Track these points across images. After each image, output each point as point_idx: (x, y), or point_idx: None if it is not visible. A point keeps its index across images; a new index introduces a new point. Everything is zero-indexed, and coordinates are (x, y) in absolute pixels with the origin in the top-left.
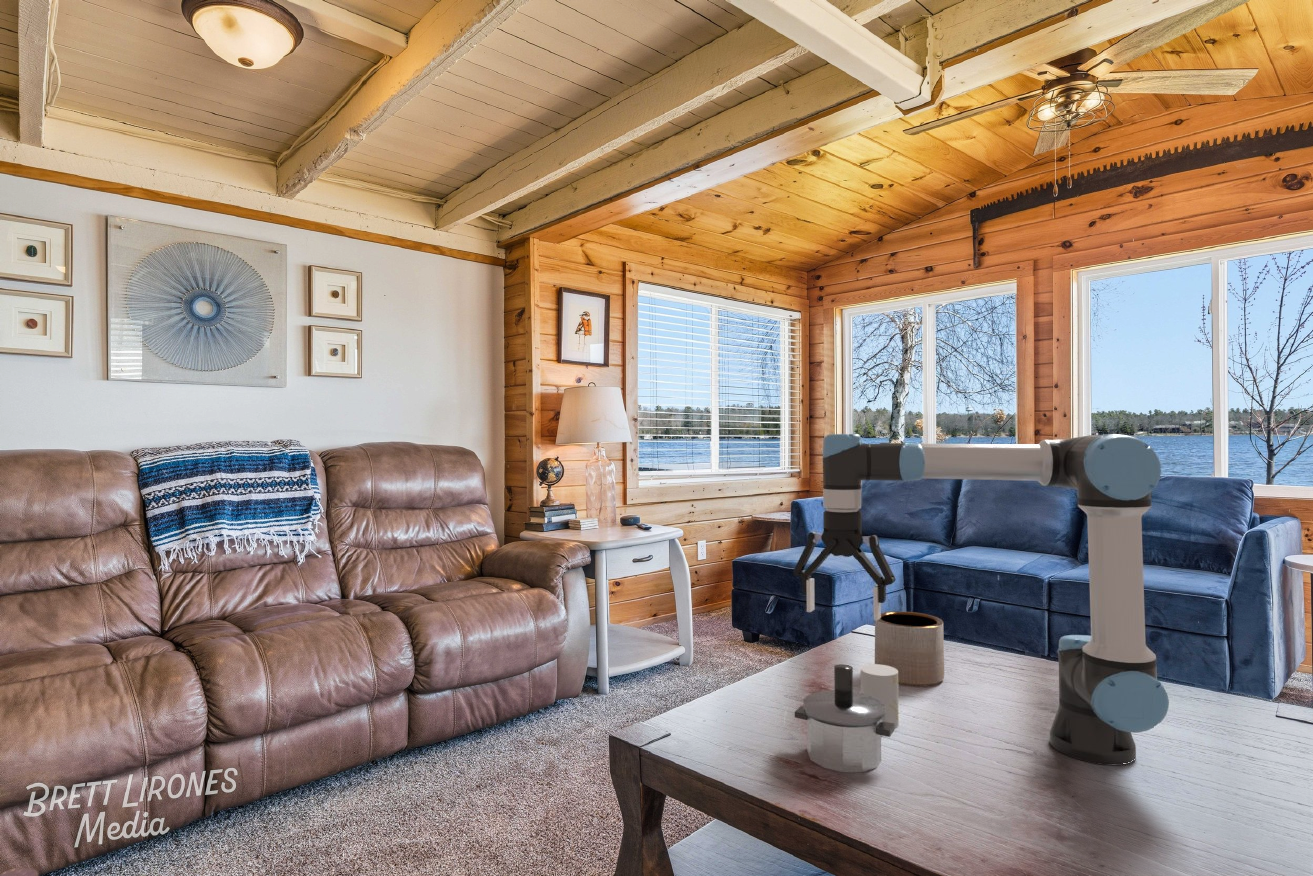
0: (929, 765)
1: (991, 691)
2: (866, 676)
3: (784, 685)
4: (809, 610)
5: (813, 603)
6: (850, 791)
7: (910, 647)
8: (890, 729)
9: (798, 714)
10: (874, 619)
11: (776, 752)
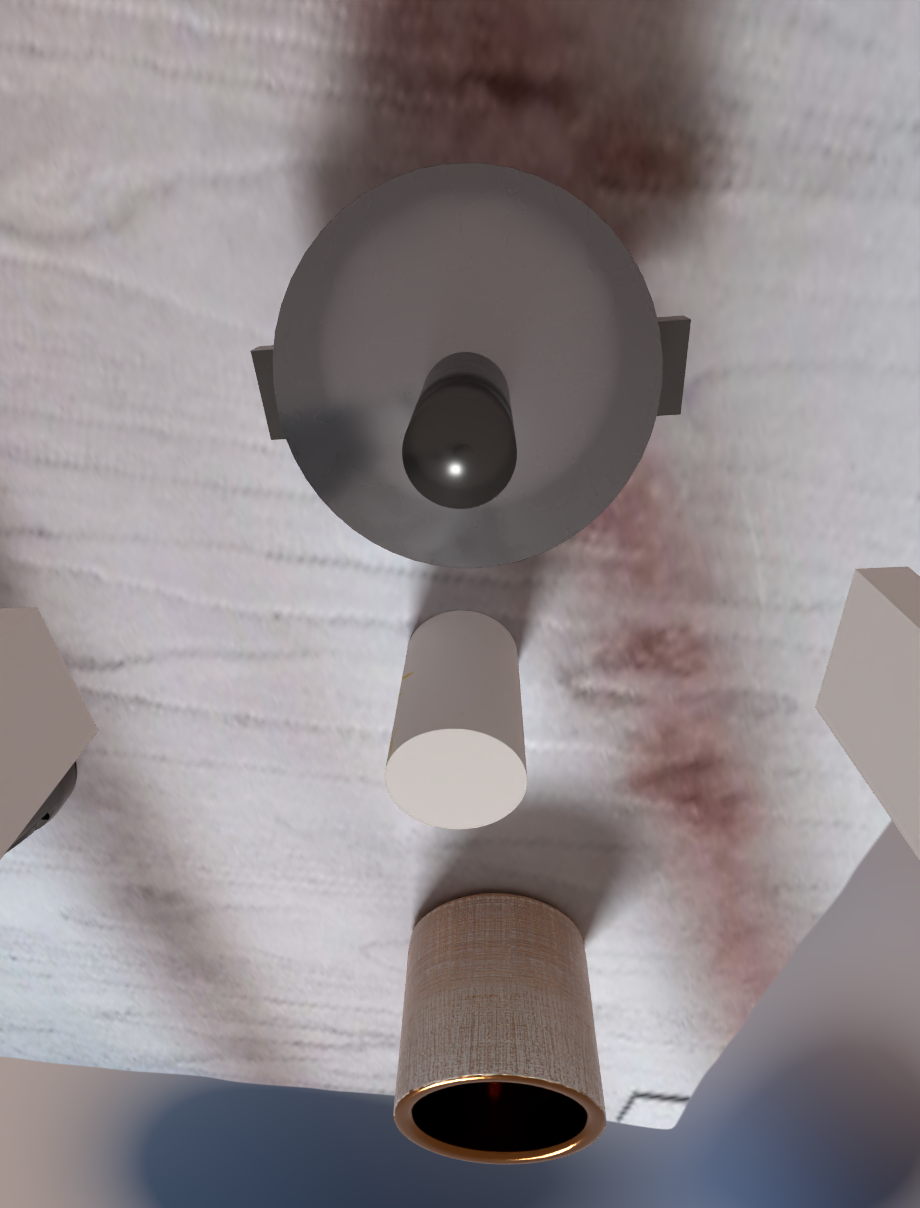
0: (222, 449)
1: (300, 933)
2: (486, 724)
3: (811, 770)
4: (879, 579)
5: (868, 737)
6: (337, 40)
7: (467, 1002)
8: (255, 367)
9: (669, 319)
10: (21, 611)
11: (711, 227)
